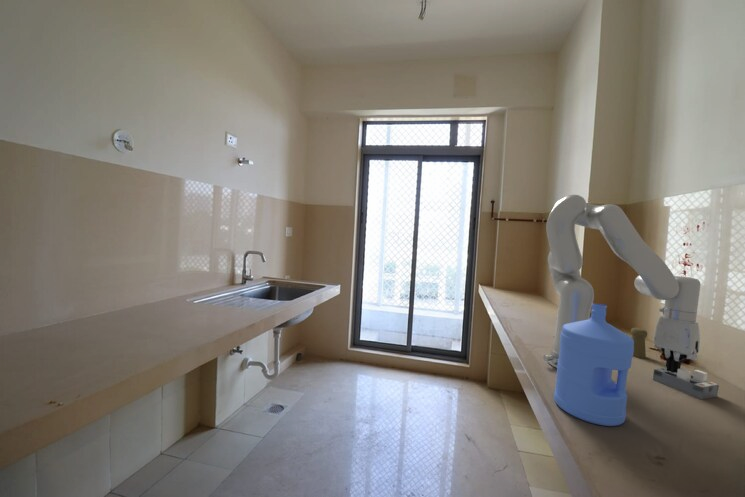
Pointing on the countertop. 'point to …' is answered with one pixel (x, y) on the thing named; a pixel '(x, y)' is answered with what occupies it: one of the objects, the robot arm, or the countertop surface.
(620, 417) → the water jug
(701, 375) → the outer tab
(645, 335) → the cork
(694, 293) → the robot arm
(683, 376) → the inner tab
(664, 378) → the switch block
